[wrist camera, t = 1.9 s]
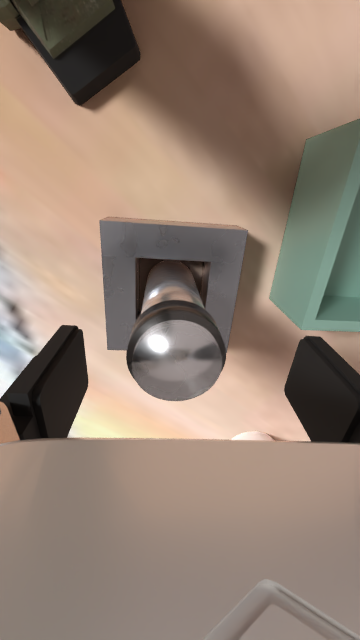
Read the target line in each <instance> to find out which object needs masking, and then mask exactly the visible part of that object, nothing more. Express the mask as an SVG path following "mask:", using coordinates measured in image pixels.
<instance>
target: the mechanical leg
mask: <svg viewBox="0 0 360 640" xmlns="http://www.w3.org/2000/svg"><path fill="white" fill-rule="evenodd" d="M0 22H1V23H2V24H3V25H5V26H6V27H7V28H8V29H9V30H10V31H12V30H17V29H21V28H22V30H23V31H24V33H25V34H26V36H27V37H28V38H29V40H30V41H31V43H32V44H33V45H34V47H35V48H36V50H37V51H38V52H39V54H40V55H41V57H42V58H43V59H44V61H45V62H46V63H47V65H48V66H49V68H50V69H51V70H52V72H53V73H54V75H55V76H56V77H57V79H58V80H59V82H60V83H61V84H62V86H63V87H64V89H65V90H66V91H67V93H68V94H69V96H70V97H71V98H72V100H73V101H74V102H75V104H77V105H79V106H80V105H81V104H83V103H84V102H86V101H87V100H88V99H90V98H91V97H92V96H94V95H95V94H96V93H98V92H99V91H100V90H101V89H103V88H104V87H105V86H107V85H108V84H109V83H111V82H112V81H113V80H114V79H116V78H117V77H118V76H120V75H121V74H122V73H124V72H125V71H126V70H127V69H129V68H130V67H131V66H133V65H134V64H135V63H137V62H138V61H139V60H140V51H139V48H138V45H137V43H136V40H135V37H134V34H133V32H132V29H131V26H130V24H129V21H128V18H127V16H126V13H125V10H124V8H123V5H122V2H121V0H0Z"/></svg>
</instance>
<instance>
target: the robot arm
mask: <svg viewBox="0 0 360 640" xmlns="http://www.w3.org/2000/svg"><path fill="white" fill-rule="evenodd" d="M87 387H88V374H87V365H86V357H85V348H84V339H83V332H82V330H81V329H78V327H77V326H70V325H62V326H61V327H60V328H59V329H58V330H57V332H56V333H55V334H54V335H53V336H52V338H51V339H50V340H49V341H48V343H47V344H46V345H45V346H44V348H43V349H42V350H41V351H40V353H39V354H38V355H37V356H35V357H34V358H33V359H32V360H31V361H30V363H29V364H28V365H27V366H26V368H25V369H24V370H23V371H22V373H21V374H20V375H19V376H18V377H17V379H16V380H15V381H14V382H13V384H12V385H11V386H10V387H9V388H8V390H7V391H6V392H5V393H4V395H3V396H2V397H1V398H0V640H360V375H359V374H358V373H357V372H356V371H355V370H354V369H353V368H352V367H351V366H350V365H349V364H348V363H347V362H346V361H345V360H344V359H343V358H342V357H341V356H340V355H339V354H338V353H337V352H336V351H335V350H334V349H333V348H332V347H331V346H330V345H328V344H327V343H326V342H325V341H324V340H323V339H322V338H321V337H315V336H306V337H304V339H301V340H300V342H299V344H298V347H297V350H296V354H295V357H294V360H293V363H292V366H291V369H290V372H289V375H288V378H287V381H286V384H285V388H284V391H285V395H286V397H287V399H288V400H289V402H290V404H291V406H292V407H293V409H294V411H295V413H296V415H297V416H298V418H299V420H300V422H301V423H302V425H303V427H304V429H305V431H306V432H307V434H308V436H309V438H310V440H311V441H312V442H308V441H267V440H217V439H153V438H67V436H68V433H69V431H70V429H71V426H72V424H73V421H74V419H75V417H76V414H77V412H78V410H79V407H80V405H81V402H82V400H83V398H84V395H85V393H86V390H87Z"/></svg>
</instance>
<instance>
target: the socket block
mask: <svg viewBox="0 0 360 640" xmlns="http://www.w3.org/2000/svg"><path fill="white" fill-rule="evenodd" d="M247 233H248V230H246V229H244V228H241V227H239V226H234V225H220V224H205V223H190V222H176V221H161V220H147V219H132V218H118V217H107V218H104V219H102V220H100V236H101V252H102V268H103V284H104V300H105V316H106V332H107V349H108V350H127V348H128V344H129V340H130V335H131V331H132V328H133V325H134V323H135V322H136V320H137V318H138V317H139V316H140V315H141V311H139V258H152V259H170V260H188V261H204V267H203V276H202V285H201V294H200V297H201V300H202V303H203V306H204V308H205V310H206V311H207V312H208V313H210V315H211V316H212V317H213V319H214V320H215V322H216V324H217V327H218V329H219V331H220V334H221V336H222V339H223V341H224V344H225V348H226V353H227V348H228V342H229V336H230V331H231V325H232V319H233V314H234V308H235V302H236V296H237V291H238V285H239V279H240V273H241V268H242V262H243V256H244V251H245V245H246V239H247Z"/></svg>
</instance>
